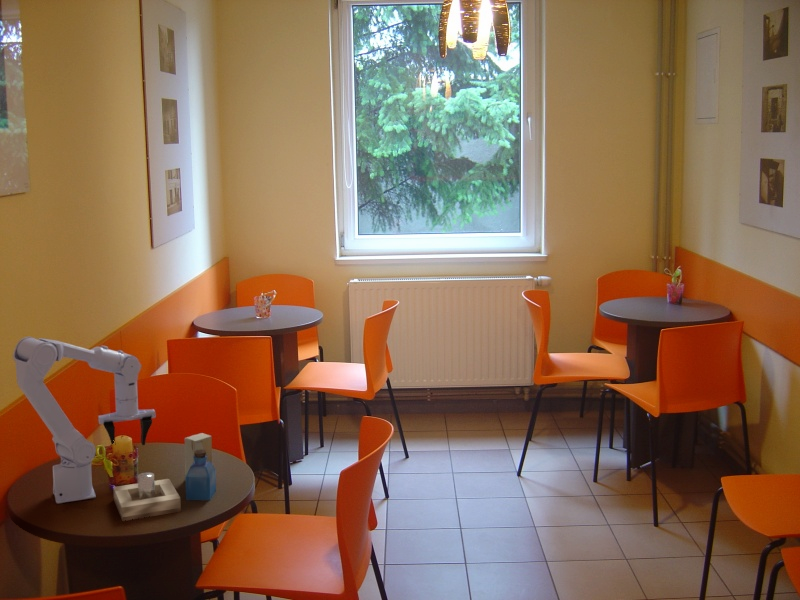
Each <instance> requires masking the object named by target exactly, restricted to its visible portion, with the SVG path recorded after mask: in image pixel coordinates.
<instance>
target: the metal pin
mask: <svg viewBox="0 0 800 600" xmlns="http://www.w3.org/2000/svg"><path fill="white" fill-rule="evenodd" d="M155 481H156V480H155V473H153V472H142V473H138V475H137V483H138V497H139V500H142V499H148V498H154V497H155Z"/></svg>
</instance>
